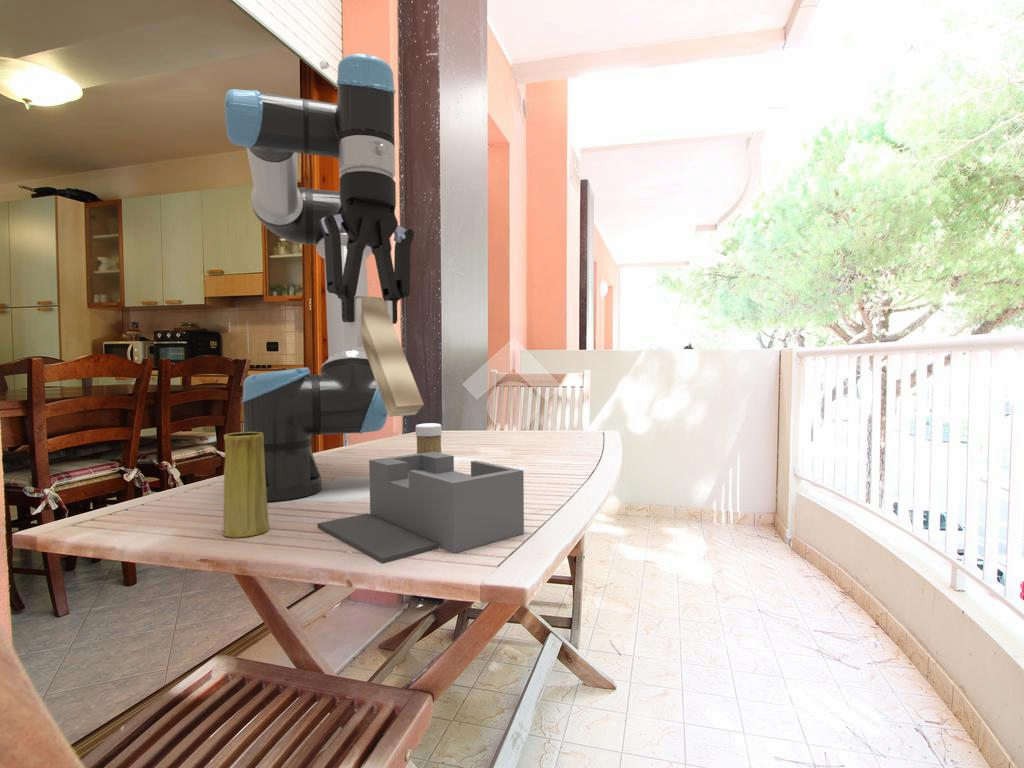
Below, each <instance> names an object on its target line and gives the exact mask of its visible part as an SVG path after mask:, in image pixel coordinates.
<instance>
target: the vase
mask: <svg viewBox="0 0 1024 768" xmlns="http://www.w3.org/2000/svg"><path fill="white" fill-rule="evenodd" d="M223 439H224V469H223V470H224V471H223V472H224V473H223V530H222V534H223V536H225V537H227V538H231V539H232V538H234V539H237V538H240V539H241V538H248V537H249V538H250V537H255V536H258V535H261V534H264V533H266V532H268V530H269V529H270V525H269V524H270V523H269V515H268V514H269V511H268V510H269V509H268V501H267V494H266V477H265V458H264V435H263V433H262V432H244V431H238V432H231V433H226V434H223Z"/></svg>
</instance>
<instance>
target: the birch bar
mask: <svg viewBox="0 0 1024 768" xmlns="http://www.w3.org/2000/svg"><path fill="white" fill-rule="evenodd" d="M355 298H361V306H362V344H363V347H364V349H365V352H366V355H367V358H368V361H369V363H370V366H371V369H372V372H373V375H374V377H375V380H376V383H377V386H378V389H379V391H380V394H381V397H382V400H383V402H384V405H385V408H386V411H387V417H388V418H390V417H391V418H392V417H393V418H394V417H402V416H414V415H417V414H418V413H419V411H420V410H422V407H424V405H425V403H424V402H423V398H422V396H421V394H420V392H419V388H418V386H417V383H416V380H415V379H414V378H415V377H414V375H413V373H412V371H411V368H410V365H409V362H408V360H407V357H406V355H405V353H404V349H403V348H402V345H401V343H400V340H399V338H398V334H397V332H396V330H395V327H394V324H392V322H391V319H390V316H389V314H388V312H387V309H386V307H385V304H384V302H383V301H384V300H383V297H379V296H378V297H377V296H369V295H368V296H355Z"/></svg>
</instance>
